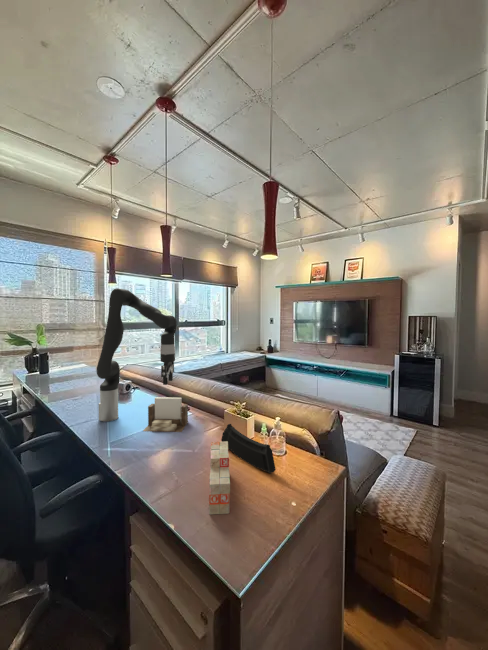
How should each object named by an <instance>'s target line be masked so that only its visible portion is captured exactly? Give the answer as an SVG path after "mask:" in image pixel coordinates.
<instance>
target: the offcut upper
mask: <svg viewBox="0 0 488 650" xmlns="http://www.w3.org/2000/svg"><path fill="white" fill-rule="evenodd" d="M171 424H172V420H154V421H153V422H152V427H170V426H171Z"/></svg>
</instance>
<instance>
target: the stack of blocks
mask: <svg viewBox="0 0 488 650" xmlns="http://www.w3.org/2000/svg"><path fill="white" fill-rule="evenodd" d="M210 444H211V445H210V463H209V464H210V471H209V497H208V502H209V503H208V506H209V507H208V513H209V514H208V515H225V514H226V515H227V514H230V503H231V502H230V498H231V497H230V494H231V480H230V479H231V478H230V477H231V476H230V456H229V449H228V441H224V442H222V441H211V443H210Z"/></svg>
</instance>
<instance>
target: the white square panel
mask: <svg viewBox="0 0 488 650" xmlns="http://www.w3.org/2000/svg"><path fill="white" fill-rule="evenodd" d="M182 402H183V400H182V397H167V396H166V397H164V396H163V397H162V396H161V397H160V396H159V397H157V396H156V397H154V404H155V419H180V425H181V423H182V406H183V405H182Z"/></svg>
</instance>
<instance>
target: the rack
mask: <svg viewBox="0 0 488 650" xmlns="http://www.w3.org/2000/svg"><path fill="white" fill-rule="evenodd" d="M188 405H189V404H188V403H184V404H183V405H182V423H181V425H180V419H155V403H151V404H149V405H148V406H147V416H148V417H147V421H148V422H147V424H148V425H147V426H146V427H145V428H144V429H143V430H142V432H150V433H151V432H155V433H157V432H161V433H162V432H164V433H182V432H183V431H184V429H185V427H186V426H187V425H188V423H189V414H188V413H189V409H188V408H189V407H188ZM154 420H172V424H177V428H176V429H175V431H151V426H152V422H153V421H154Z"/></svg>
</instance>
